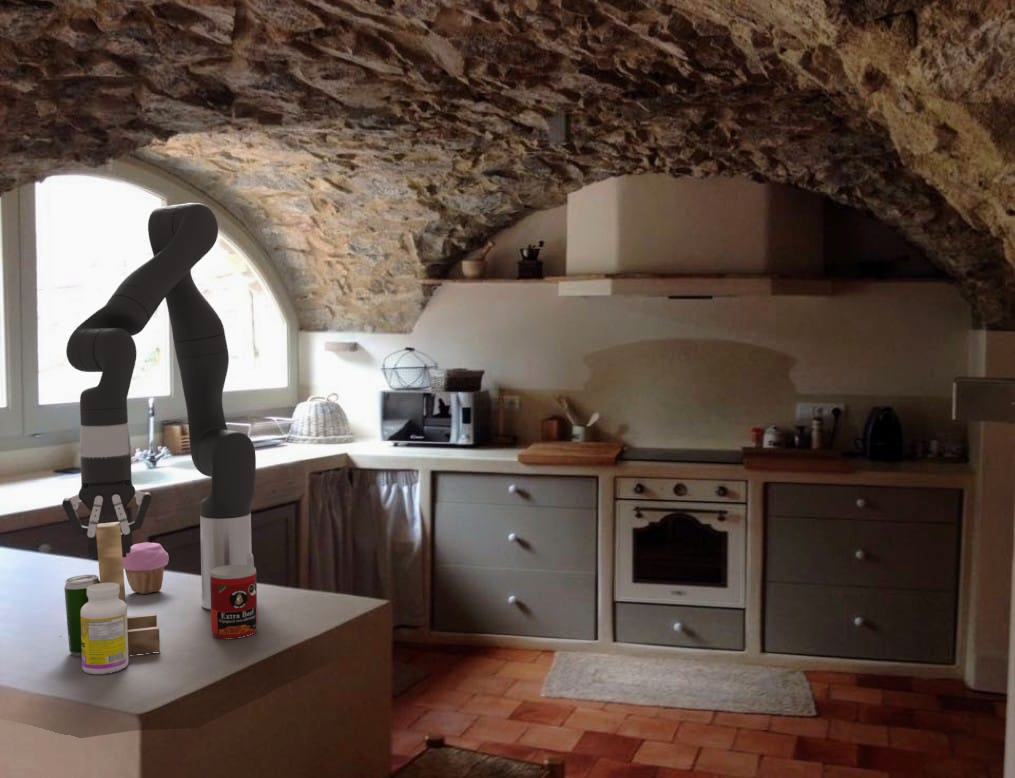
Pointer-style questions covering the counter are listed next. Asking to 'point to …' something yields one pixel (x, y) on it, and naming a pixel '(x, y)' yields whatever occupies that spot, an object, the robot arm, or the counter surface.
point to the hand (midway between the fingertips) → (109, 557)
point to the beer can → (76, 608)
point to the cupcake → (145, 567)
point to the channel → (143, 634)
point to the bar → (110, 555)
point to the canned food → (233, 601)
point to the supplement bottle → (104, 630)
